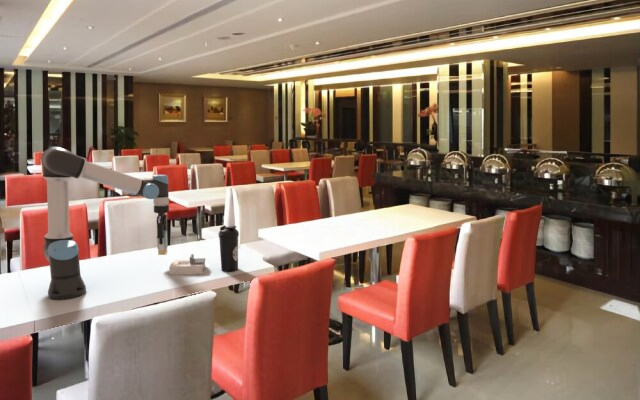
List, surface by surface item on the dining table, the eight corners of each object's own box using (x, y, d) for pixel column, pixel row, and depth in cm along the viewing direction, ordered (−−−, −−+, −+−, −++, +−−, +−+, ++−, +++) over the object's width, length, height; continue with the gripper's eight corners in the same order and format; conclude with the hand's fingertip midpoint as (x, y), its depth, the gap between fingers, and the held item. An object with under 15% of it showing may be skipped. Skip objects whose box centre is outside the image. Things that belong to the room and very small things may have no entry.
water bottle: (235, 273, 247) (234, 229, 243) (216, 271, 249) (215, 228, 245) (242, 267, 257) (241, 224, 253) (224, 266, 259) (222, 223, 255)
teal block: (157, 254, 253) (157, 232, 251) (159, 252, 257) (158, 230, 255) (166, 254, 253) (165, 232, 251) (167, 252, 257) (167, 230, 255)
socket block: (169, 274, 245) (169, 266, 244) (174, 267, 256) (173, 259, 256) (202, 273, 246) (201, 265, 246) (205, 266, 258) (204, 259, 258)
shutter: (189, 264, 247) (189, 258, 247) (191, 260, 254) (191, 254, 254) (203, 263, 248) (203, 257, 248) (205, 259, 255) (205, 253, 255)
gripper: (165, 207, 243) (166, 253, 246) (172, 202, 260) (173, 244, 263) (149, 207, 242) (151, 253, 246) (157, 202, 259) (158, 244, 263)
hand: (162, 248), depth 254 cm, fingers closed on teal block, 4 cm apart
